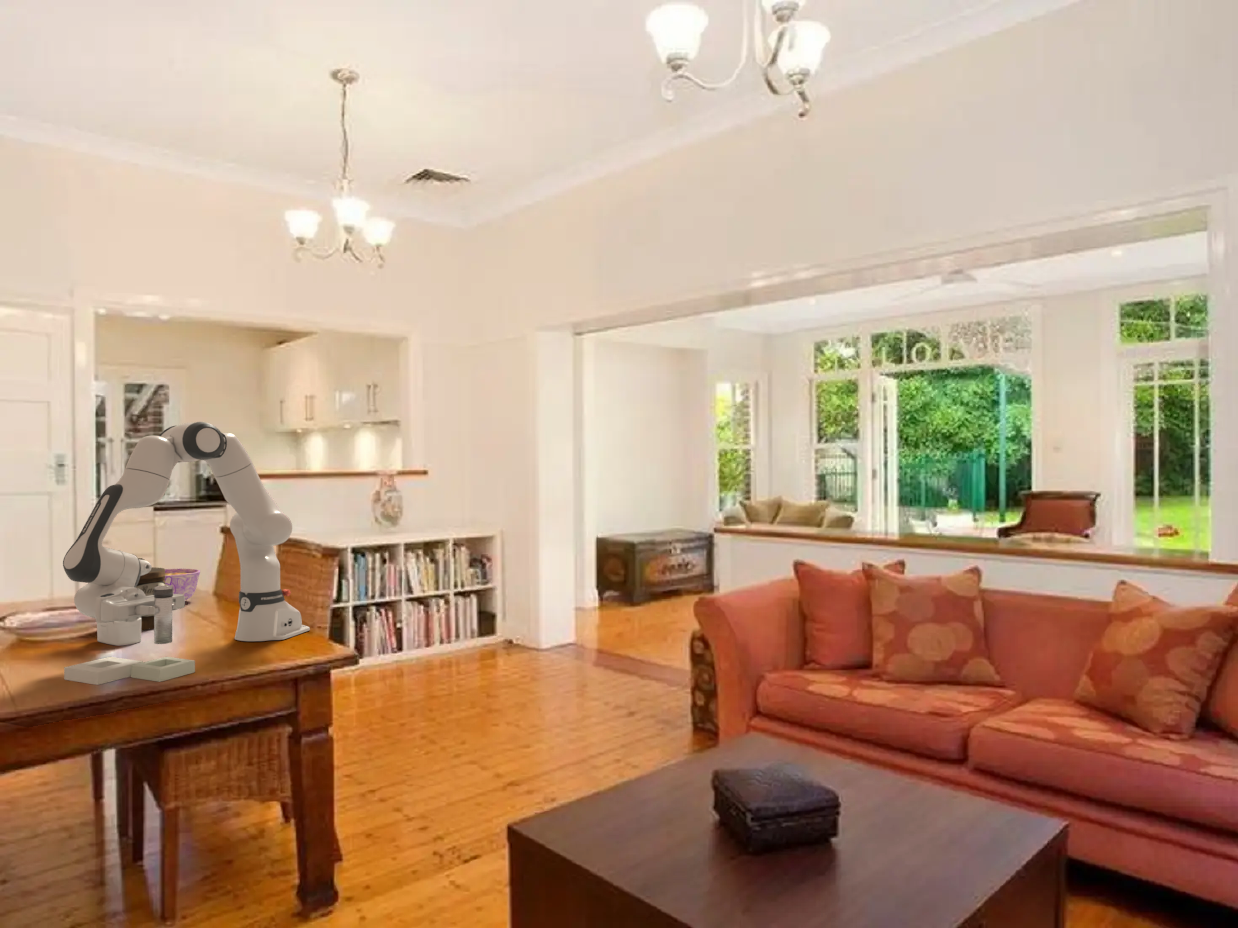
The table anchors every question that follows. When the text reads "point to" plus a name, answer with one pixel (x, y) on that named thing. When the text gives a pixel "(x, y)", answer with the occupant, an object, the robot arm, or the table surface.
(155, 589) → the clear capped tube
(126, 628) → the power drill
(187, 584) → the bowl of food
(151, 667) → the block
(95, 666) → the socket block
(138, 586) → the brown cylinder
